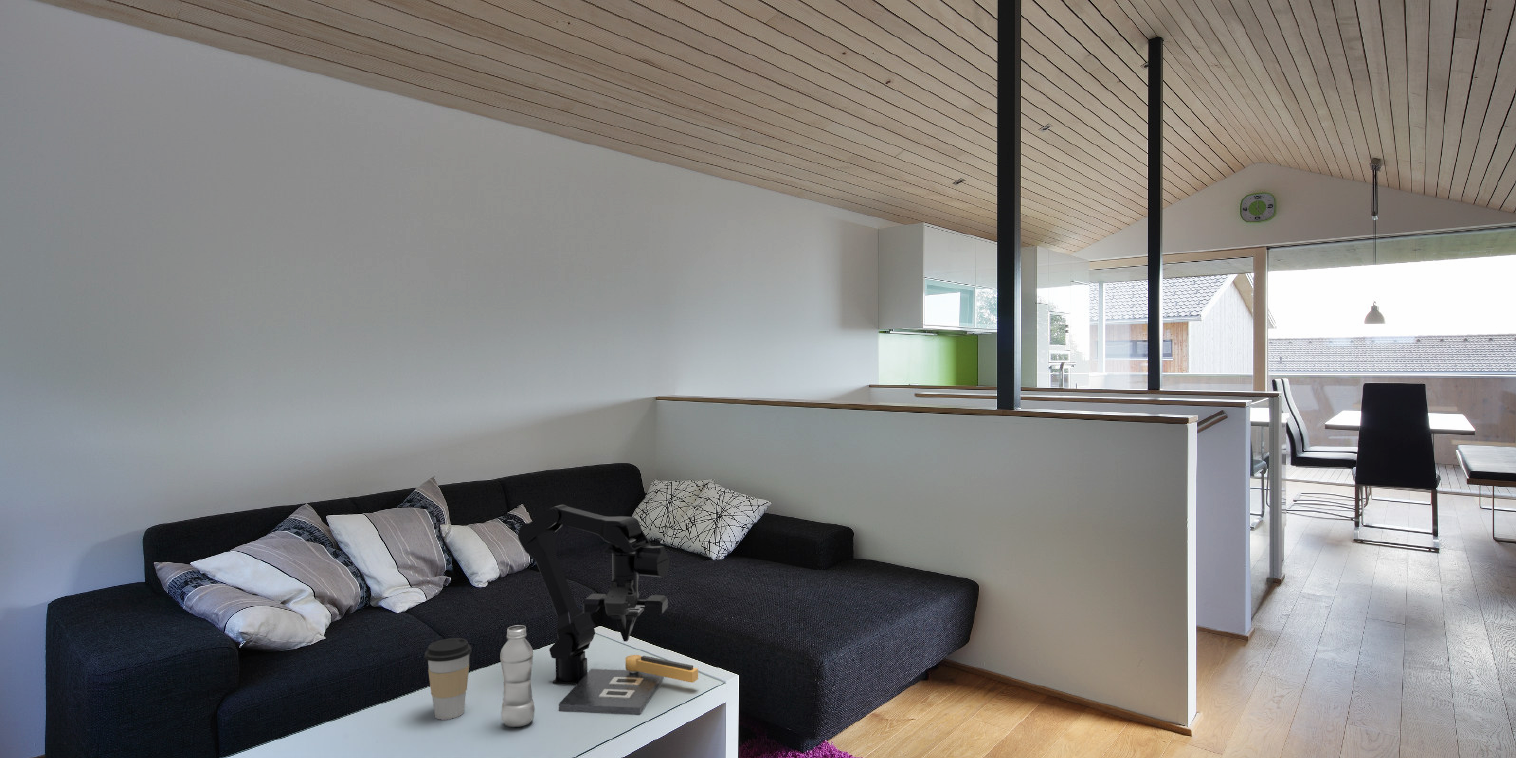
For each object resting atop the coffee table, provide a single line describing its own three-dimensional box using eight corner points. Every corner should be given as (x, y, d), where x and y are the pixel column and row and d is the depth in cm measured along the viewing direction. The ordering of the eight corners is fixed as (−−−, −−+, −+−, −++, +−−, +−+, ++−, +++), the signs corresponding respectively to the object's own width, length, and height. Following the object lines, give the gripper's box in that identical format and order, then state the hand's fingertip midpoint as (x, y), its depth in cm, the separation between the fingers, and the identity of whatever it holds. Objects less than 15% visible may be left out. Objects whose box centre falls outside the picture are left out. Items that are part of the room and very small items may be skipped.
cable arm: (690, 684, 172) (690, 669, 172) (622, 669, 182) (621, 655, 182) (700, 677, 176) (700, 663, 176) (632, 663, 185) (632, 650, 185)
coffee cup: (481, 707, 167) (481, 639, 167) (451, 726, 158) (450, 654, 158) (446, 702, 170) (445, 634, 170) (414, 720, 161) (414, 649, 161)
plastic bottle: (529, 731, 156) (528, 632, 156) (496, 731, 156) (495, 633, 156) (539, 717, 162) (537, 622, 162) (507, 717, 162) (506, 622, 162)
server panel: (558, 710, 165) (558, 700, 165) (591, 674, 185) (591, 665, 185) (639, 714, 163) (639, 704, 163) (664, 677, 183) (663, 668, 183)
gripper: (573, 581, 170) (574, 652, 170) (655, 583, 167) (656, 655, 167) (590, 569, 181) (591, 635, 181) (667, 570, 178) (668, 637, 178)
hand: (626, 640), depth 177 cm, fingers closed
